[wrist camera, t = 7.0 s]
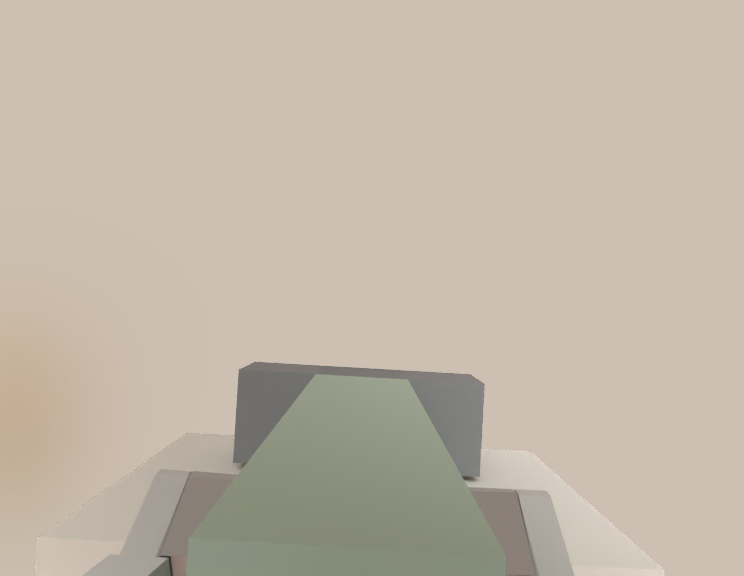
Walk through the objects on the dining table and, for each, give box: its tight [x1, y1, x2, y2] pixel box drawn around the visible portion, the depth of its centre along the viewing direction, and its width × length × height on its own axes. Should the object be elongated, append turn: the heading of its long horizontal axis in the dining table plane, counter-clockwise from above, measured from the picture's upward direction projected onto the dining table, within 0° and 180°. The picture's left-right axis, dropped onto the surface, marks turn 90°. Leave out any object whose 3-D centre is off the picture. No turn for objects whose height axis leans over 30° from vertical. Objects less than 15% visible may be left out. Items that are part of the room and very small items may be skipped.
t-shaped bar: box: [186, 362, 506, 576], centre depth 15 cm, size 18×8×3 cm, turn 0°
